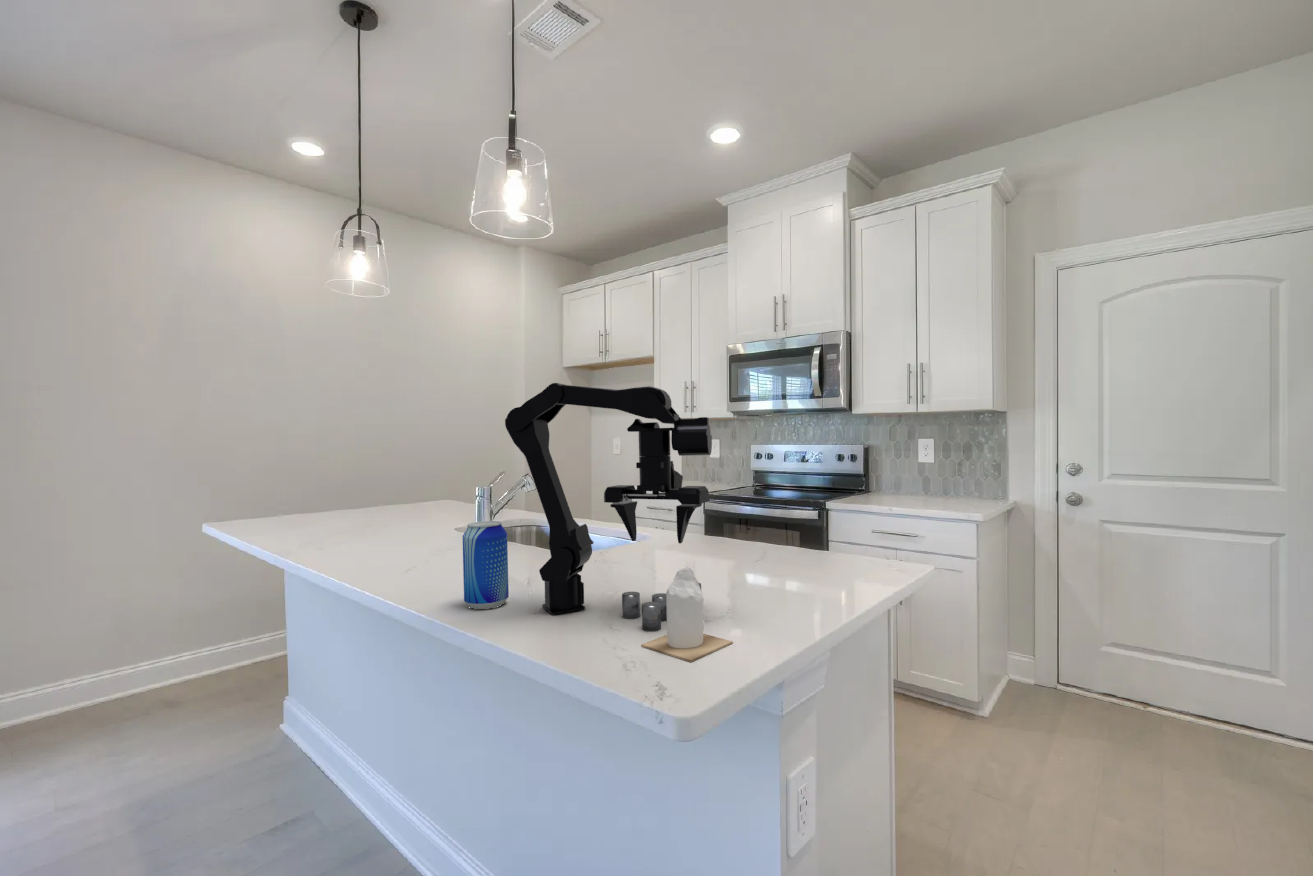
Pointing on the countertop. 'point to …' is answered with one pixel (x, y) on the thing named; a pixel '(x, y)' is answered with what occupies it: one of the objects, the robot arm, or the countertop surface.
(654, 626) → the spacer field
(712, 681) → the countertop surface
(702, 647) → the mat
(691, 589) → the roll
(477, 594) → the beer can
